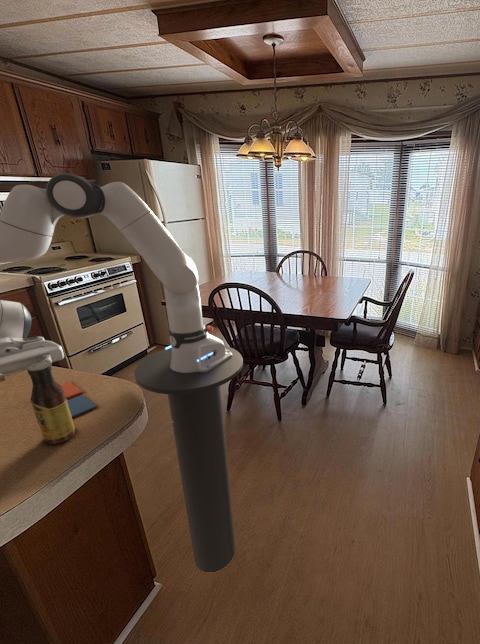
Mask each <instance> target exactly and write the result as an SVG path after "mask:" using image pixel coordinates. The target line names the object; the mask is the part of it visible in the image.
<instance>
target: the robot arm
mask: <svg viewBox="0 0 480 644" xmlns="http://www.w3.org/2000/svg"><path fill="white" fill-rule="evenodd" d="M2 205H3V206H2V208H1V211H0V264H6V263H19V262H20V263H21V262H29V261H33V260H36V259H39V258H41V257H43V256H44V255H46V253H47V252H48V250H49V248H50V246H51V243H52V240H53V236H54V232H55V229H56V225H57V223H58V221H59V220H60V219H61V218H62V217H65V216H67V217H70V218H75V219H87V218H91V217H92V216H95V215H97V214H99V215H102V216H104V217H105V218H107V219H108V220H109V221H110V222H111V223H112V224H113V225H114V226H115V228H116V229H117V230H118V231H119V232H120V233H121V235H122V236H123V237H124V238H125V239H126V240H127V241H128V242H129V244H131V246H132V247H133V248H134V249H135V250H136V251H137V253H138V254H139V255H140V257H141V258H142V259H143V260H144V262H145V264H146V265H147V266H148V267H149V269H150V270H151V271H152V273H153V274H154V275H155V277H156V278H157V279H158V280H159V282H160V283H161V284H162V285H163V290H164V299H165V308H166V314H167V315H166V316H167V321H168V337H169V343H170V345H169V346H166V347H164V350H167V349H169V348H171V363H170V368H171V369H172V370H173V371H176V372H181V373H191V372H207V371H209V370H211V369H213V368H214V367H216V366H217V365H219V364H221V363H222V362H224V361H226V360H227V359H229V358H231V357H232V353H231V352H230V351H229V350H227V349H225V346H226V345H225V343H224V342H223V338H222V337H218V336H215V335H213V334H210V333H212V332H214V330H215V329H214V326H211V325H206V324H204V320H203V311H202V301H201V295H200V294H201V293H200V288H199V281H200V277H199V272H198V268H197V265H196V263H195V261H194V260H193V258H192V257H190V256H189V255H187V254H186V253H185V252H184V251H183V250H182V248H181V247H180V245H179V244H178V243H177V241H176V240H175V239H174V237H173V236H172V234H171V233H170V232H169V230H168V229H167V228H166V227H165V226H164V224H163V223H162V222H161V220H160V219H159V218H158V217H157V215H156V214H155V213H154V211H153V210H152V209H151V208H150V207H149V206H148V204H147V203H146V202H145V201H144V200H143V198H141V197H140V196H139V195H138V193H136V192H135V191H134V190H133V189H132V188H131V187H130V186H129V185H128V184H126V183H125V182H121V181H112V182H109V183H106V184H105V185H103V186H99V185H98V184H96V183H94V182H91V181H90V180H88V179H86V178H85V177H82V176H80V175H77V174H74V173H69V172H61V173H58V174H55V175H53V176H52V177H51V178H50V179H49V180H48V181H47V184H46V187H45V188H42V187H37V186H35V185H31V184H17V185H15V186H13V187H12V188H11V190H10V191H9V193H8V194H7V196H6V199H5V201H4V203H3V204H2ZM31 329H32V315H31V313H30V312H29V310H28V309H27V307H26V305H24V304H23V303H22V302H19V301H11V300H4V299H0V383H2V382H5V381H6V378H5V377H8V376H11V375H15V374H17V373H21V372H25V371H28V370H27V368H28V367H29V366H31V365H33V364H36V363H41V362H47V363H49V364H50V366H51V368H52V367H53V363H55V362H58V361H62V360H63V359H64V358H65V353H64V350H63V347H62V346H61V345H60V344H58V343H57V342H54V341H52V340H46V339H45V337H44V336H41V335H40V336H31V337H28V336H29V334H30V332H31Z"/></svg>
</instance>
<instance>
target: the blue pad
mask: <svg viewBox="0 0 480 644" xmlns="http://www.w3.org/2000/svg"><path fill="white" fill-rule="evenodd" d="M67 402H68V406H69V409H70V413H71V416H72V419H73V418H75V417H78V416H80V415H83V414H85V413H87V412H90V411H92V410H95V409H97V408H98V407H97V405H96V404H95V403H93V402H92V401H90V399H88V398H86V397H85V396H84V395H82V394H80V395H77V396H75V397H72V398H69V399H67Z"/></svg>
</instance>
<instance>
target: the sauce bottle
mask: <svg viewBox="0 0 480 644" xmlns="http://www.w3.org/2000/svg"><path fill="white" fill-rule="evenodd" d="M26 371H27V374H28V375H29V376H30V377H29V378H30V379H31V382H32V383H31V384H32V389H31V396H30V403H31V407H32V409H33V411H34V415H35V417H36V420H37V423H38V426H39V429H40V432H41V435H42V438H44V441H45V442H46V443H47V444H49V445H50V444H51V445H55V444H60V443H64V442H66V441H68V440H70V439H71V438H73V437H74V435H75V432H76V427H75V424H74V420H73V418H72V416H71V413H70V409H69V406H68V402H67V401H68V399H66V396H65V394H64V390H63V388H62V386H61V385H62V384H60V383H59V382H57V381H55V378H54V376H53V373H52V367H51V366H50V364H49V363H47V362H41V363H36V364H33V365H31V366H29V367H28V368H27V370H26Z"/></svg>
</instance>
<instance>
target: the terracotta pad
mask: <svg viewBox="0 0 480 644" xmlns="http://www.w3.org/2000/svg"><path fill="white" fill-rule="evenodd" d="M60 385H61V386H62V388H63V390H64V394H65V396H66V399H67V400H70V399H72V398H75V397H77V396H80V395H82V394H83V393H84V391H83V390H82V389H80V388H79V387H77V386H76V385H74V383H72V382H71V381H68V382H65V383H62V384H60Z"/></svg>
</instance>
